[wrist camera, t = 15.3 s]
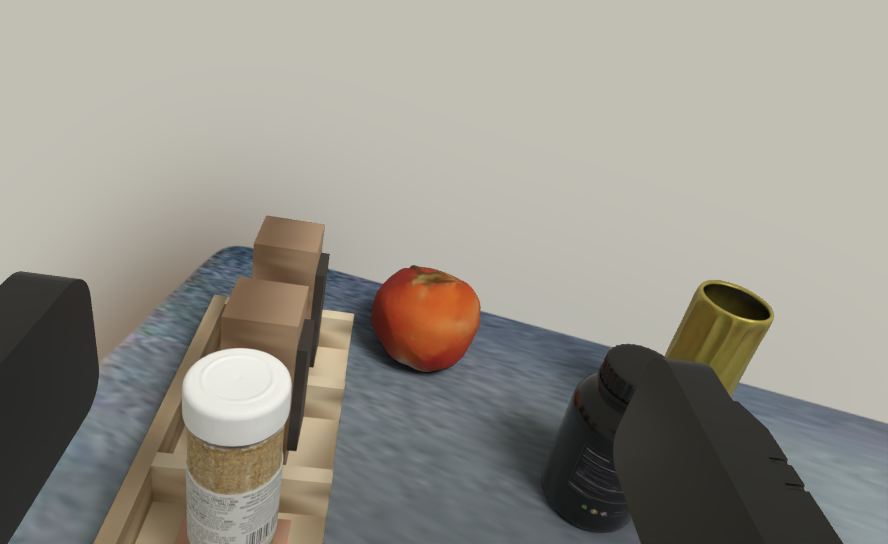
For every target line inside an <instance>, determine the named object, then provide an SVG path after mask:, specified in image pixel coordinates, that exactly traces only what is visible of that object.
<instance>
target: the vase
mask: <svg viewBox="0 0 888 544" xmlns="http://www.w3.org/2000/svg"><path fill="white" fill-rule="evenodd" d="M773 319H774V313H773V310H772V308H771V307H770V305H769V304H768V303H767V302H766V301H764V300H763V299H762V298H760V297H759V296H757V295H756V294H754V293H753V292H751V291H749V290H747V289H745V288H743V287H741V286H738V285H735V284H732V283H729V282H725V281H720V280H709V281H705V282H703V283H702V284H701V285H700V286H699V287H698V288H697V290H696V292H695V294H694V296H693V298H692V300H691V302H690V305H689V307H688V309H687V311H686V313H685V315H684V317H683V319H682V321H681V323H680V326H679V327H678V329H677V332H676V333H675V335H674V338H673V339H672V341H671V343H670V346H669V347H668V350H667V352H666V354H665V356H664V357H666V358H667V359H674V360H682V361H690V362H697V363H704V364H707V365H709V366H710V367H711V368H712V369H713V370H714V372H715V373H716V375H717V376H718V378H719V379H720V381H721V383H722V384H723V386H724V387H725V389H726V391H727V392H728V394H729V395H730V397H731V396H732V394H733V392H734V390H735V389H736V387H737V385H738V383H739V381H740V379H741V377H742V375H743V373H744V371H745V370H746V368H747V366H748V364H749V362H750V360H751V358H752V357H753V355H754V353H755V351H756V350H757V348H758V346H759V344H760V342H761V341H762V339H763V338H764V336H765V334H766V332H767V331H768V329H769V327H770V326H771V324H772V321H773Z"/></svg>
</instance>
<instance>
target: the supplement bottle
mask: <svg viewBox="0 0 888 544" xmlns="http://www.w3.org/2000/svg"><path fill="white" fill-rule="evenodd" d="M658 357H659V358H666V357H664V356H663V355H661V354H659V353H657V352H656V351H654V350H651V349H649V348H646V347H643V346H639V345H635V344H621V345H617V346H616V347H612V349H611V350H609V351H608V353H607V355H606V357H605V359H604V362H603V364H602V365H601V366H600V369H599V371H598V373H595V374H592V375H590V376H588V377H586V378H585V379H584V380H582V381H581V382H580V383H579V384H578V386H577V387H576V389H575V391H574V393H573V396H572V398H571V401H570V403H569V406H568V408H567V411H566V413H565V416H564V418H563V421H562V423H561V426H560V428H559V431H558V433H557V436H556V438H555V441H554V443H553V446H552V448H551V451H550V453H549V456H548V458H547V461H546V464H545V466H544V470H543V474H542V483H543V488H544V492H545V494H546V497H547V499H548V500H549V502H550V503H551V505H552V506H553V508H554V509H555V510H556V511H557V512H558V513H559V514H560V515H561V516H562V517H563V518H565V519H566V520H567V521H569V522H570V523H572V524H574V525H576V526H578V527H580V528H583V529H586V530H589V531H594V532H611V531H615V530H618V529H620V528H622V527H623V526H625V525H626V524H627V523H628V522H629V521H630V520H631V518H632V516H631V513H630V510H629V507H628V505H627V502H626V499H625V496H624V493H623V490H622V487H621V485H620V482H619V479H618V476H617V473H616V470H615V465H614V458H613V446H614V438H615V434H616V431H617V428H618V426H619V424H620V422H621V419H622V417H623V415H624V413H625V411H626V409H627V407H628V405H629V402H630V400H631V398H632V396H633V394H634V392H635V390H636V388H637V385H638V383H639V381H640V379H641V377H642V375H643V373H644V371H645V369H646V367H647V365H648V364H649V362H650V361H652V360H653V359H655V358H658Z"/></svg>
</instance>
